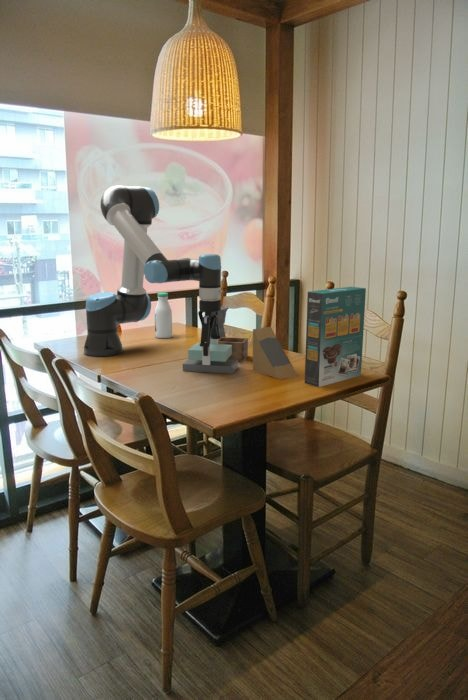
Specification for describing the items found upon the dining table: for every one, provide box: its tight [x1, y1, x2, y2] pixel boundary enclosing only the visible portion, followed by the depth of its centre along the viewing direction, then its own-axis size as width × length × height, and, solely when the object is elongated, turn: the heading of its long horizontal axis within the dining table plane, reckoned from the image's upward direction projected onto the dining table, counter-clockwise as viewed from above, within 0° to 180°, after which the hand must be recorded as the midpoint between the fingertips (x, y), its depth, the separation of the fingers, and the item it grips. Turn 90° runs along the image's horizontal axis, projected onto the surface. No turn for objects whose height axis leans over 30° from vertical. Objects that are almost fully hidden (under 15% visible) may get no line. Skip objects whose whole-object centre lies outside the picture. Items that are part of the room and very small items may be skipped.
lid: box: [187, 342, 232, 362], centre depth 200 cm, size 13×11×4 cm
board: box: [182, 359, 239, 375], centre depth 201 cm, size 18×9×2 cm, turn 79°
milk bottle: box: [154, 292, 173, 339], centre depth 253 cm, size 8×8×20 cm
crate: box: [218, 336, 249, 362], centre depth 217 cm, size 11×9×7 cm
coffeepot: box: [197, 305, 230, 339], centre depth 242 cm, size 15×9×18 cm, turn 126°
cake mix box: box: [304, 286, 367, 388], centre depth 185 cm, size 22×6×30 cm, turn 130°
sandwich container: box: [252, 326, 299, 380], centre depth 195 cm, size 9×15×15 cm, turn 37°
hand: (210, 360), depth 200 cm, fingers closed on lid, 11 cm apart
